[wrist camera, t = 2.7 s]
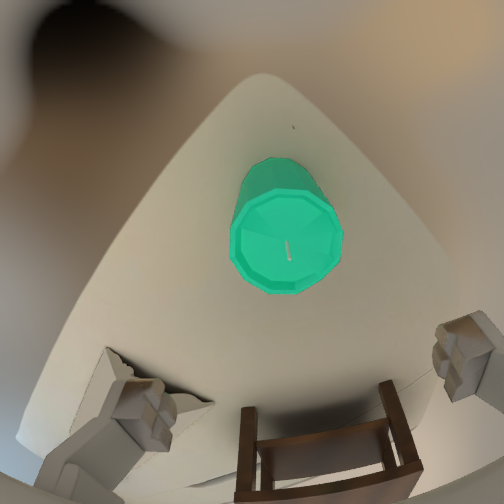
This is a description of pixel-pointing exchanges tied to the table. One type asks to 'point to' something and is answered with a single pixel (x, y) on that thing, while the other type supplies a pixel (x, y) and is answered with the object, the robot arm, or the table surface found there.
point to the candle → (283, 229)
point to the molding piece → (115, 369)
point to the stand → (331, 461)
